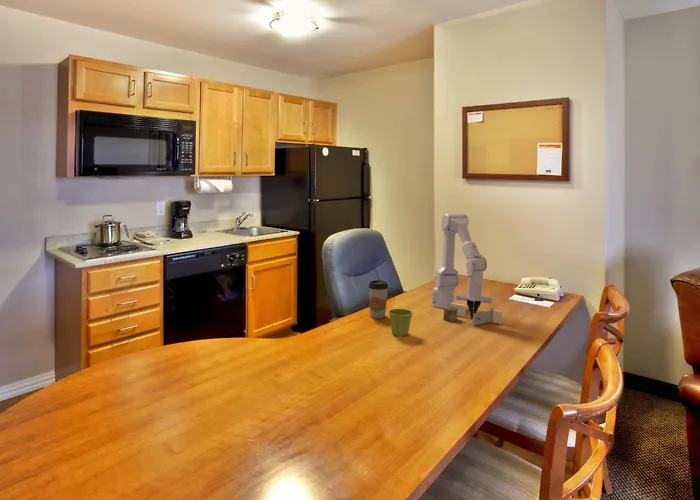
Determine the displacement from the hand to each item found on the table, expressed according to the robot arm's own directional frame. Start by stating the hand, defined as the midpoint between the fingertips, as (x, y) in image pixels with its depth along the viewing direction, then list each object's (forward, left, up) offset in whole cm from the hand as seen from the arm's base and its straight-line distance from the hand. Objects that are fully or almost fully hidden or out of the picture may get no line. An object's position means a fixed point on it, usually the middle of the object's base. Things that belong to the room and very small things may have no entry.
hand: (472, 318), depth 182 cm
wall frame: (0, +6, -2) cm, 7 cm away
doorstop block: (-9, -1, -2) cm, 10 cm away
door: (+4, +1, -2) cm, 5 cm away
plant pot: (-18, -30, -2) cm, 35 cm away
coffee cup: (-36, -16, -2) cm, 40 cm away
